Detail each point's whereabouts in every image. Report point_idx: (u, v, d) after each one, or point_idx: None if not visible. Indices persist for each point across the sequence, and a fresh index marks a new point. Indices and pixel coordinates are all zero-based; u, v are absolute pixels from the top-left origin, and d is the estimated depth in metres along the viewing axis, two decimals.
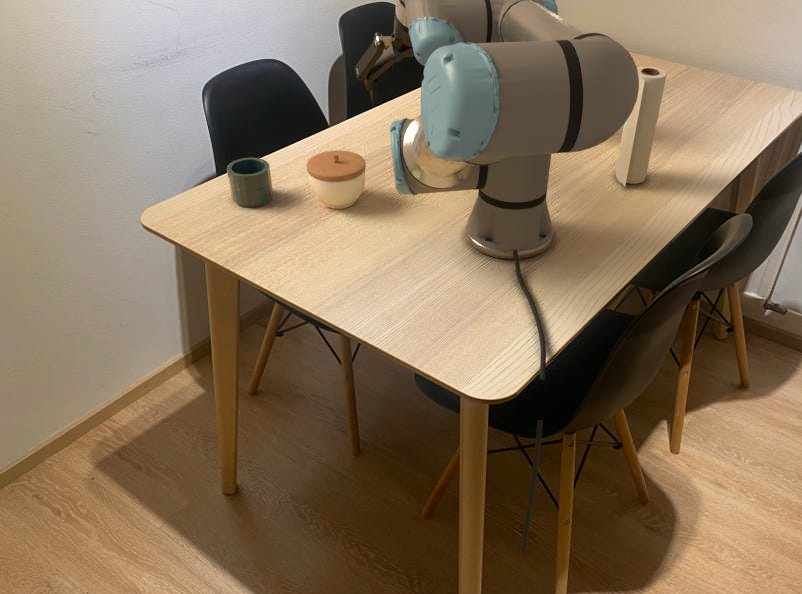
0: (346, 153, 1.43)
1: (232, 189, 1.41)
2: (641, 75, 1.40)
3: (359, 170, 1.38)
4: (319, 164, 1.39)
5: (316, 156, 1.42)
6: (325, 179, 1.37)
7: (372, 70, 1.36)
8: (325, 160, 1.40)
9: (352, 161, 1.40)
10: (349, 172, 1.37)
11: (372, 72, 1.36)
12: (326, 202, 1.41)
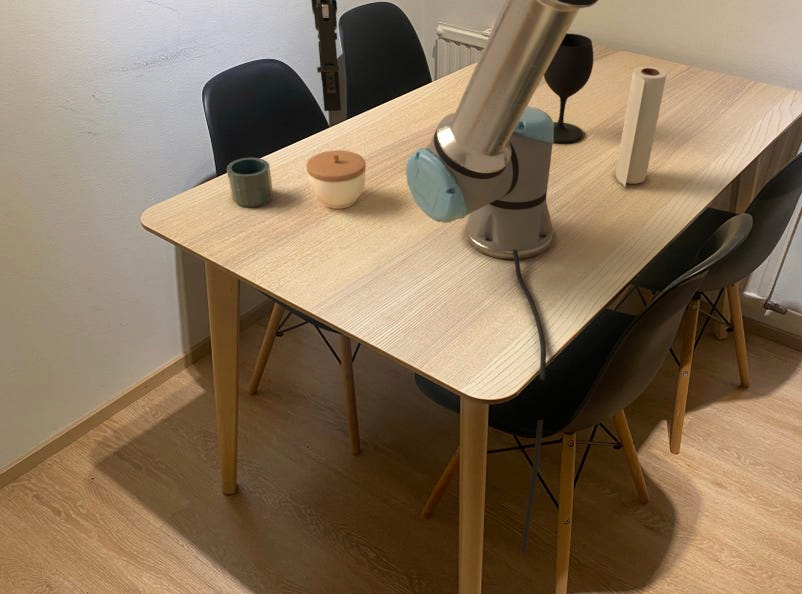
0: (346, 153, 1.43)
1: (232, 189, 1.41)
2: (641, 75, 1.40)
3: (359, 170, 1.38)
4: (319, 164, 1.39)
5: (316, 156, 1.42)
6: (325, 179, 1.37)
7: None
8: (325, 160, 1.40)
9: (352, 161, 1.40)
10: (349, 172, 1.37)
11: None
12: (326, 202, 1.41)
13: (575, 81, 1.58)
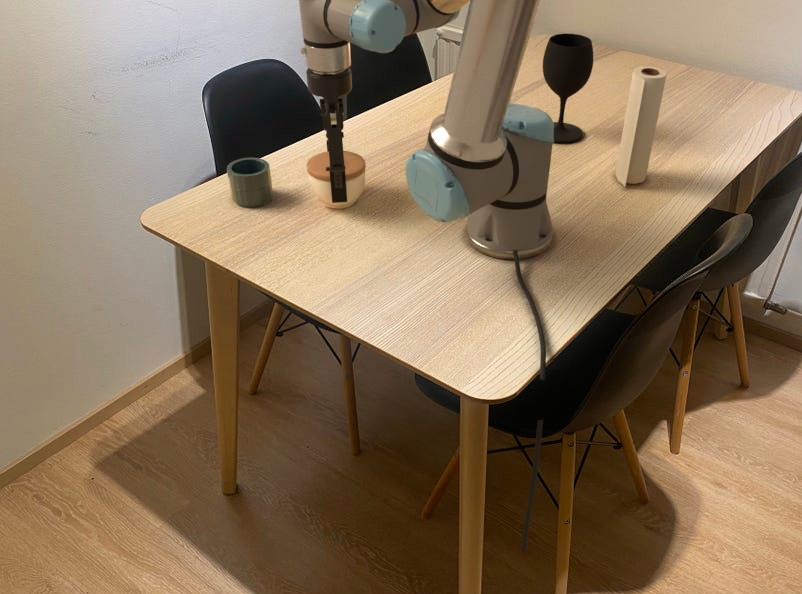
0: (346, 153, 1.43)
1: (232, 189, 1.41)
2: (641, 75, 1.40)
3: (359, 170, 1.38)
4: (319, 164, 1.39)
5: (316, 156, 1.42)
6: (325, 179, 1.37)
7: None
8: (325, 160, 1.40)
9: (352, 161, 1.40)
10: (349, 172, 1.37)
11: None
12: (326, 202, 1.41)
13: (575, 81, 1.58)
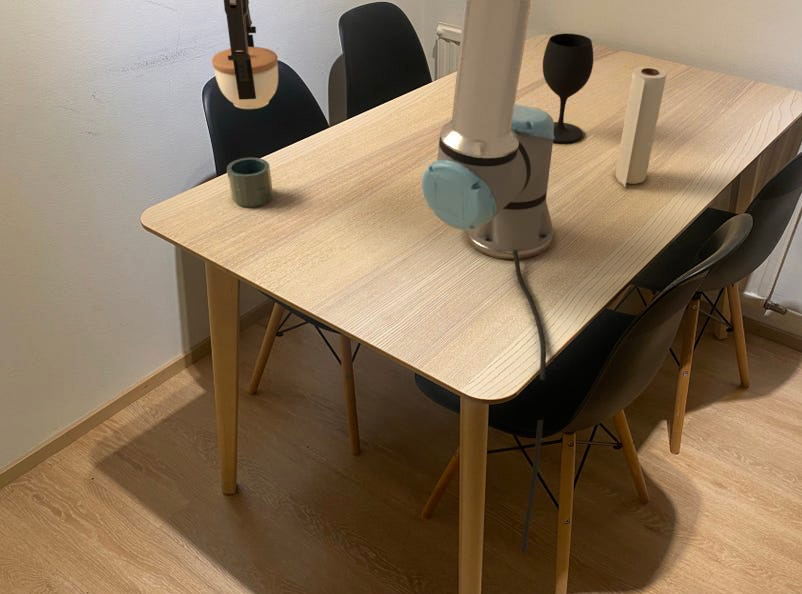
0: (258, 48, 1.31)
1: (232, 189, 1.41)
2: (641, 75, 1.40)
3: (268, 63, 1.26)
4: (226, 57, 1.27)
5: (224, 51, 1.30)
6: (229, 72, 1.25)
7: None
8: None
9: (262, 55, 1.28)
10: (257, 64, 1.25)
11: None
12: (234, 101, 1.29)
13: (575, 81, 1.58)
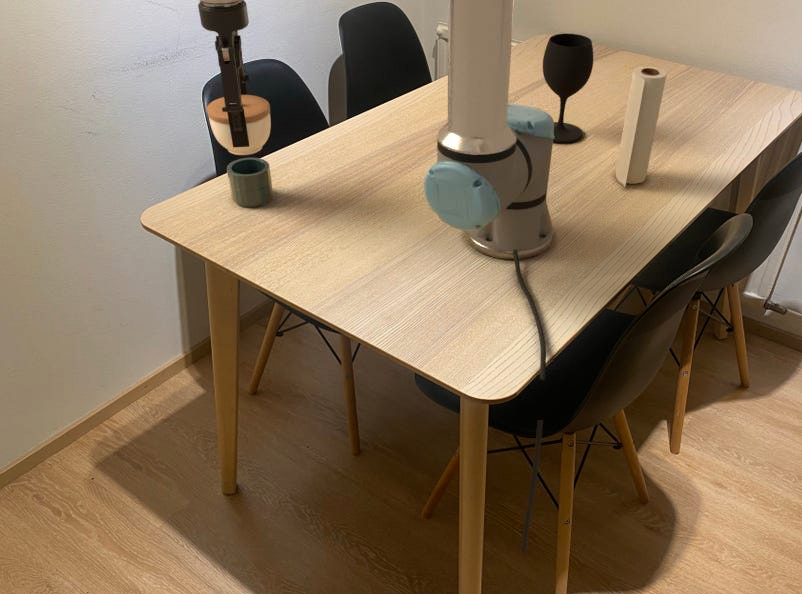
0: (251, 97, 1.36)
1: (232, 189, 1.41)
2: (641, 75, 1.40)
3: (261, 113, 1.32)
4: (220, 107, 1.33)
5: (219, 100, 1.35)
6: (224, 122, 1.30)
7: None
8: None
9: (255, 104, 1.34)
10: (250, 114, 1.31)
11: None
12: (228, 147, 1.34)
13: (575, 81, 1.58)
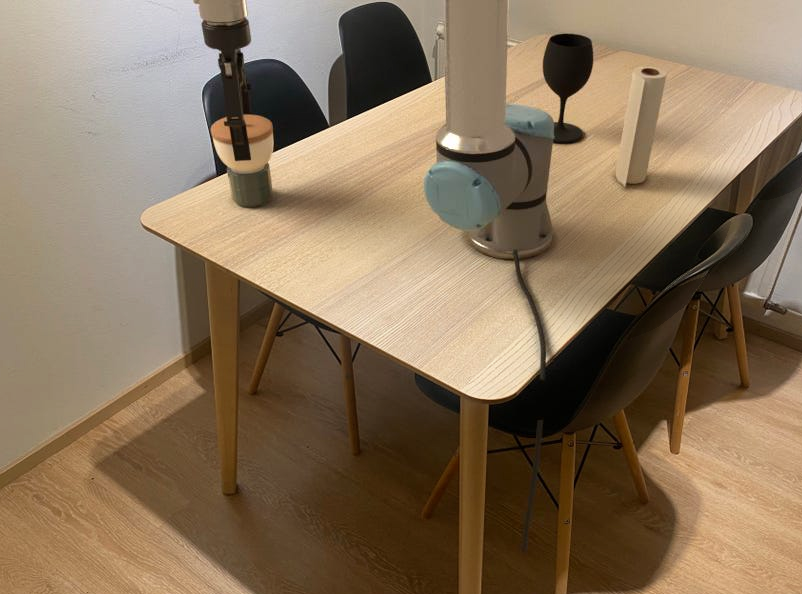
0: (254, 116, 1.39)
1: (232, 189, 1.41)
2: (641, 75, 1.40)
3: (264, 133, 1.34)
4: (224, 127, 1.35)
5: (222, 120, 1.37)
6: (227, 142, 1.32)
7: None
8: None
9: (258, 124, 1.36)
10: (253, 135, 1.33)
11: None
12: (232, 167, 1.37)
13: (575, 81, 1.58)
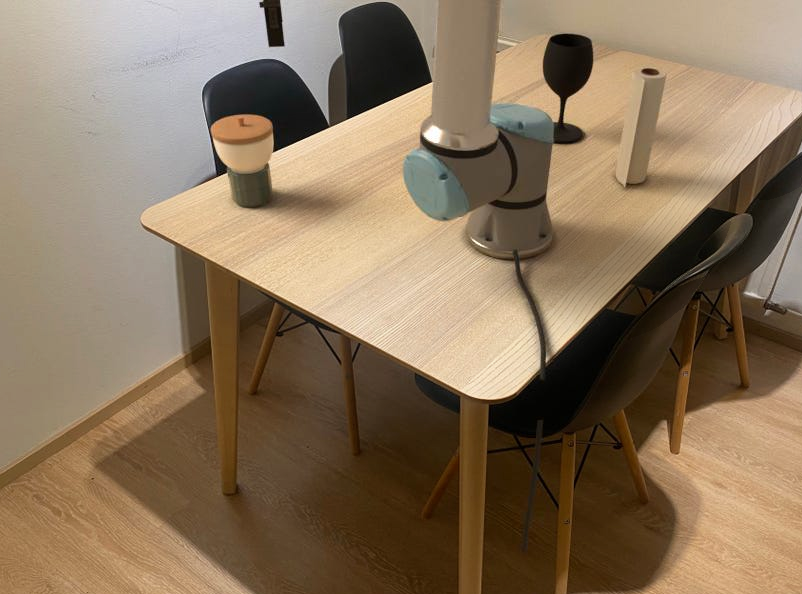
0: (254, 116, 1.39)
1: (232, 189, 1.41)
2: (641, 75, 1.40)
3: (264, 133, 1.34)
4: (224, 127, 1.35)
5: (222, 120, 1.37)
6: (227, 142, 1.32)
7: None
8: (231, 124, 1.36)
9: (258, 124, 1.36)
10: (253, 135, 1.33)
11: None
12: (232, 167, 1.37)
13: (575, 81, 1.58)
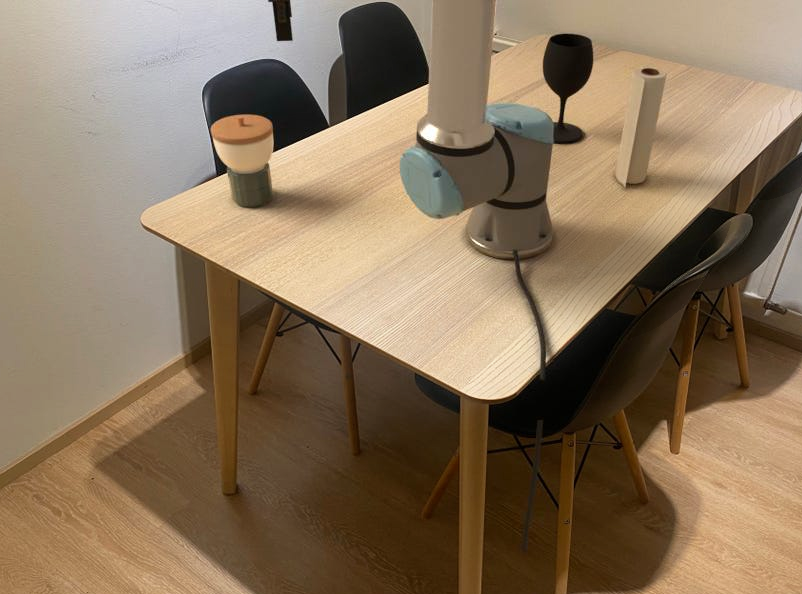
0: (254, 116, 1.39)
1: (232, 189, 1.41)
2: (641, 75, 1.40)
3: (264, 133, 1.34)
4: (224, 127, 1.35)
5: (222, 120, 1.37)
6: (227, 142, 1.32)
7: None
8: (231, 124, 1.36)
9: (258, 124, 1.36)
10: (253, 135, 1.33)
11: None
12: (232, 167, 1.37)
13: (575, 81, 1.58)
